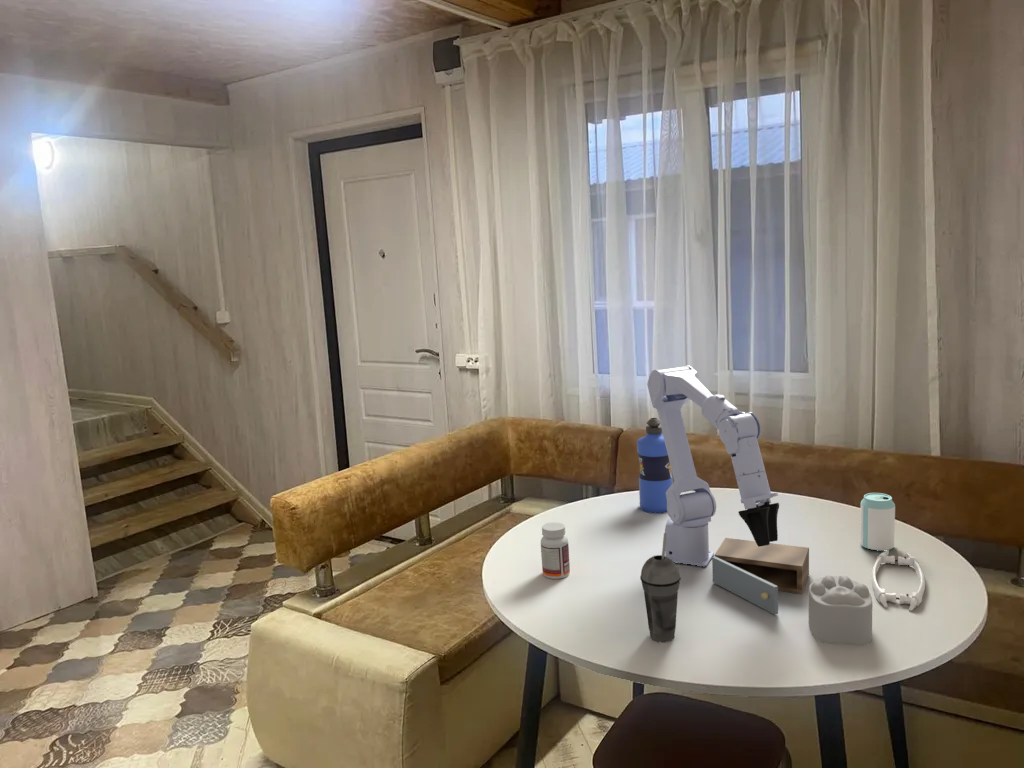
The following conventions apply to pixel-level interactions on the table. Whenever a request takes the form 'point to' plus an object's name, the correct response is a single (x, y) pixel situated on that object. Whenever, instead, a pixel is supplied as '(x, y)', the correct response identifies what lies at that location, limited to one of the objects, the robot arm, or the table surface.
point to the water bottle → (653, 469)
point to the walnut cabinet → (769, 562)
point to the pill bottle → (554, 551)
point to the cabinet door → (745, 585)
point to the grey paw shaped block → (840, 611)
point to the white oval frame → (884, 597)
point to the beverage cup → (661, 595)
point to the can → (877, 522)
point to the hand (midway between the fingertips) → (768, 543)
